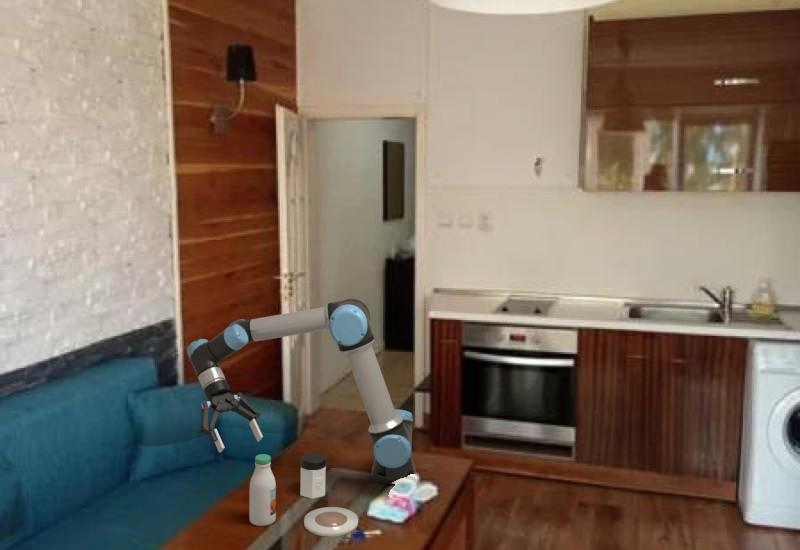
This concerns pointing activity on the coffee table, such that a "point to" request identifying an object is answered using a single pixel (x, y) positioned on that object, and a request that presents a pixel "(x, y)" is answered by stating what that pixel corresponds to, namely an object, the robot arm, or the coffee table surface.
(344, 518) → the trivet
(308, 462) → the jar
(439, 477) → the coffee table surface
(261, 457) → the milk bottle
